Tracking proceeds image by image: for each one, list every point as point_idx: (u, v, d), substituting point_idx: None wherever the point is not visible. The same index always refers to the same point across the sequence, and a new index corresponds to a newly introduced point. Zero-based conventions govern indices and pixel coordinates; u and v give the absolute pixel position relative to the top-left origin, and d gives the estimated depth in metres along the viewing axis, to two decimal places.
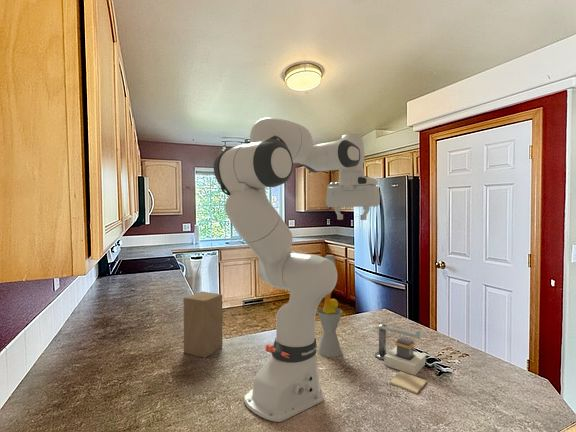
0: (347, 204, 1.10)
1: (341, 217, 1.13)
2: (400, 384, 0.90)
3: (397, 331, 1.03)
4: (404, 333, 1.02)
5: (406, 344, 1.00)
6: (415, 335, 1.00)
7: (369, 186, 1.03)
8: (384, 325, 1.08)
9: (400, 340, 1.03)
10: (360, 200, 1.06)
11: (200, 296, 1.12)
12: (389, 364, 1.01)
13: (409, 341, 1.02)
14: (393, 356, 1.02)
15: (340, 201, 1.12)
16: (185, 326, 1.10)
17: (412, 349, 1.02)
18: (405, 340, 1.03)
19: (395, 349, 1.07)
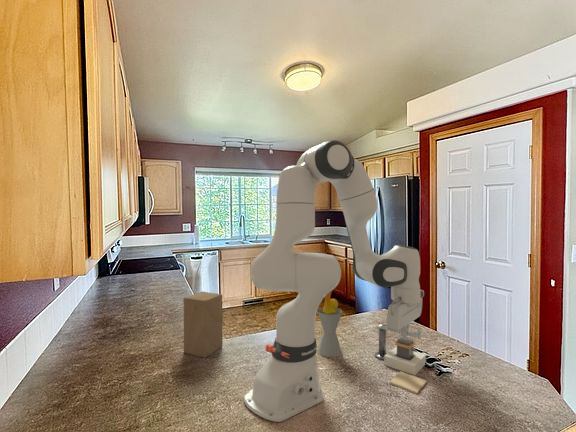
0: (409, 321, 1.00)
1: None
2: (400, 384, 0.90)
3: (397, 331, 1.04)
4: None
5: (406, 344, 1.00)
6: (416, 335, 1.00)
7: (421, 298, 1.06)
8: (384, 325, 1.08)
9: (400, 340, 1.03)
10: (415, 313, 1.03)
11: (200, 296, 1.12)
12: (389, 364, 1.01)
13: (409, 341, 1.02)
14: (393, 356, 1.02)
15: (406, 321, 0.98)
16: (185, 326, 1.10)
17: (412, 349, 1.02)
18: (405, 340, 1.03)
19: (395, 349, 1.07)
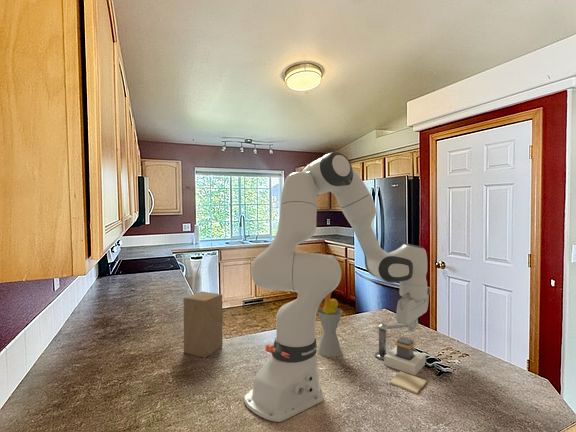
0: (417, 316, 1.06)
1: None
2: (400, 384, 0.90)
3: (398, 326, 1.08)
4: (405, 326, 1.08)
5: (406, 344, 1.00)
6: None
7: (428, 295, 1.12)
8: (384, 324, 1.08)
9: (400, 340, 1.03)
10: (422, 309, 1.09)
11: (200, 296, 1.12)
12: (389, 364, 1.01)
13: (409, 341, 1.02)
14: (393, 356, 1.02)
15: (414, 315, 1.04)
16: (185, 326, 1.10)
17: (412, 349, 1.02)
18: (405, 340, 1.03)
19: (395, 349, 1.07)
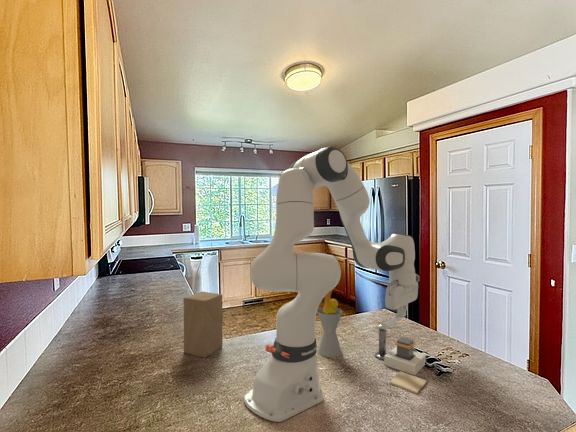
0: (406, 302, 1.10)
1: None
2: (400, 384, 0.90)
3: (392, 323, 1.11)
4: (395, 321, 1.13)
5: (406, 344, 1.00)
6: (399, 318, 1.16)
7: (417, 282, 1.16)
8: (382, 324, 1.08)
9: (400, 340, 1.03)
10: (411, 296, 1.14)
11: (200, 296, 1.12)
12: (389, 364, 1.01)
13: (409, 341, 1.02)
14: (393, 356, 1.02)
15: (402, 301, 1.08)
16: (185, 326, 1.10)
17: (412, 349, 1.02)
18: (405, 340, 1.03)
19: (395, 349, 1.07)
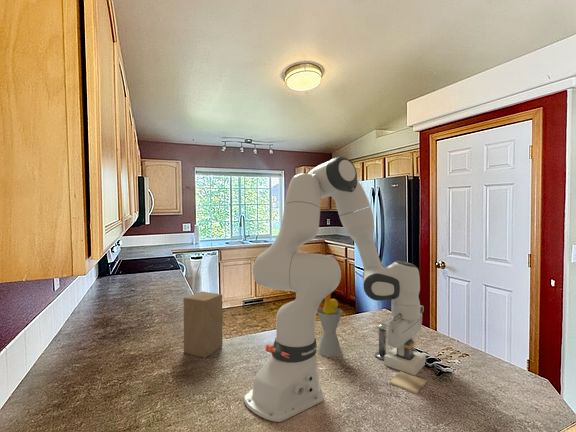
0: (410, 337, 1.01)
1: None
2: (400, 384, 0.90)
3: None
4: None
5: (406, 344, 1.00)
6: None
7: (421, 313, 1.07)
8: (382, 324, 1.08)
9: None
10: (415, 329, 1.05)
11: (200, 296, 1.12)
12: (389, 364, 1.01)
13: (409, 341, 1.02)
14: (393, 356, 1.02)
15: (406, 337, 0.99)
16: (185, 326, 1.10)
17: (412, 349, 1.02)
18: None
19: (395, 349, 1.07)
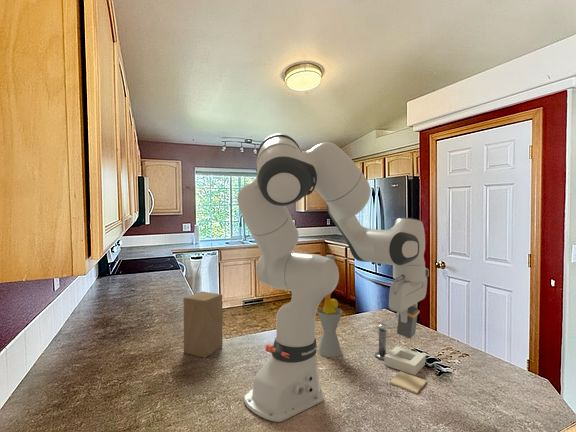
0: (413, 302, 0.90)
1: None
2: (400, 384, 0.90)
3: (392, 323, 1.11)
4: (395, 321, 1.13)
5: (410, 312, 0.89)
6: None
7: (426, 278, 0.96)
8: (382, 324, 1.08)
9: None
10: (420, 294, 0.93)
11: (200, 296, 1.12)
12: (389, 364, 1.01)
13: (413, 309, 0.90)
14: (393, 356, 1.02)
15: (410, 301, 0.87)
16: (185, 326, 1.10)
17: (416, 318, 0.91)
18: (409, 308, 0.91)
19: (395, 349, 1.07)
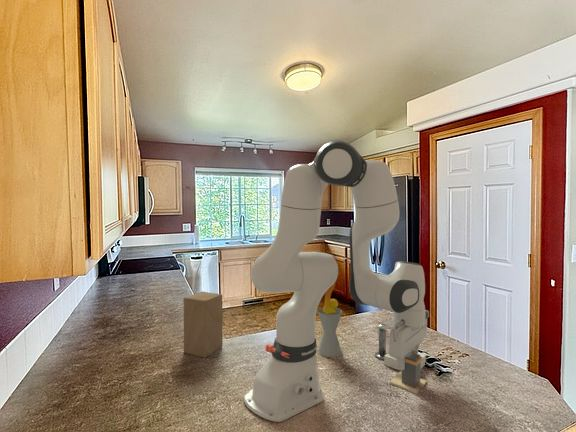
0: (413, 346, 0.90)
1: None
2: (400, 384, 0.90)
3: (392, 323, 1.11)
4: None
5: (412, 360, 0.89)
6: None
7: (426, 319, 0.96)
8: (382, 324, 1.08)
9: None
10: (420, 336, 0.94)
11: (200, 296, 1.12)
12: (389, 364, 1.01)
13: (416, 356, 0.90)
14: None
15: (410, 346, 0.88)
16: (185, 326, 1.10)
17: (419, 365, 0.90)
18: (411, 355, 0.91)
19: None
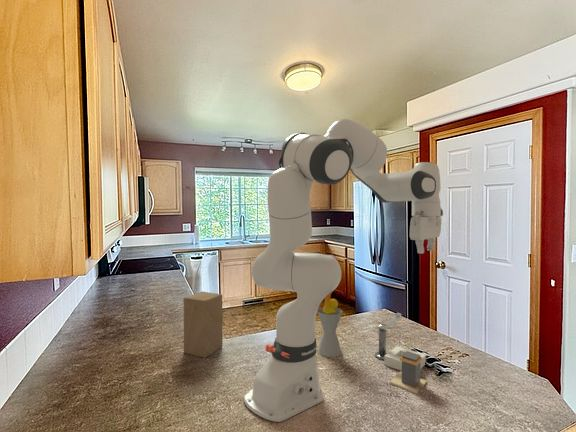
0: (430, 236, 1.03)
1: None
2: (400, 384, 0.90)
3: (392, 323, 1.11)
4: (395, 321, 1.13)
5: (412, 360, 0.89)
6: (399, 318, 1.16)
7: None
8: (382, 324, 1.08)
9: (405, 355, 0.91)
10: (435, 231, 1.07)
11: (200, 296, 1.12)
12: (389, 364, 1.01)
13: (416, 356, 0.90)
14: (393, 356, 1.02)
15: (427, 233, 1.01)
16: (185, 326, 1.10)
17: (419, 365, 0.90)
18: (411, 355, 0.91)
19: (395, 349, 1.07)
